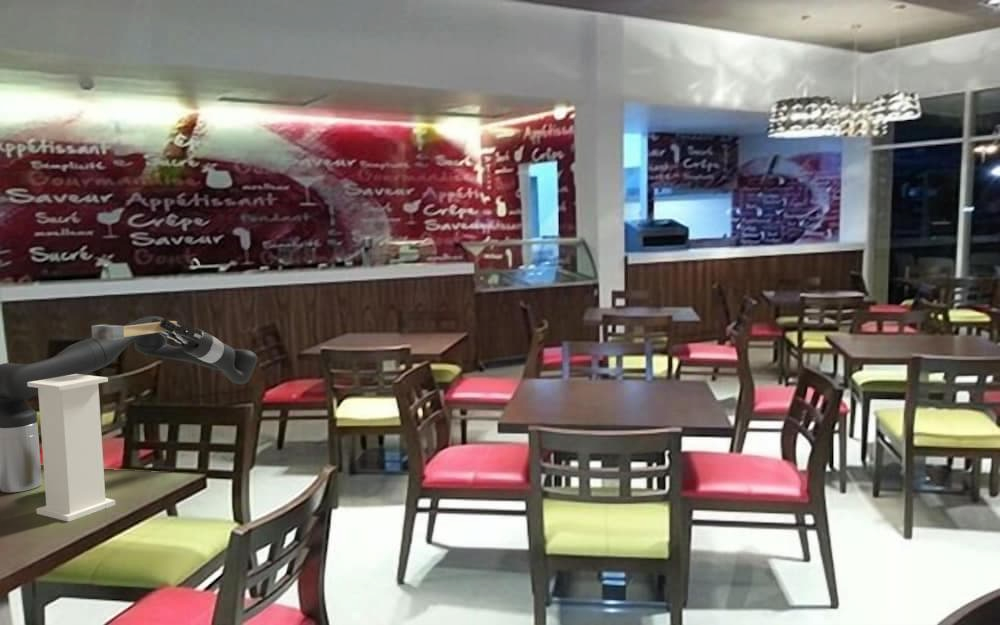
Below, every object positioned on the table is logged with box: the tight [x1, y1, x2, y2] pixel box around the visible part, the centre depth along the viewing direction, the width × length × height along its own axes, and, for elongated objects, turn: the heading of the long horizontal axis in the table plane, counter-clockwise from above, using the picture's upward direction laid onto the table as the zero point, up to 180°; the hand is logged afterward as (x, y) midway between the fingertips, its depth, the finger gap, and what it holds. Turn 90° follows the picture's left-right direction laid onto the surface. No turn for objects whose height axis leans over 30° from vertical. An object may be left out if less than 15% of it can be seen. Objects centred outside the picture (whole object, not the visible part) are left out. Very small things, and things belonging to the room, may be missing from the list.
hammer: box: [91, 320, 178, 340], centre depth 191 cm, size 8×21×3 cm, turn 154°
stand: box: [27, 374, 116, 522], centre depth 175 cm, size 12×12×32 cm
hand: (157, 322), depth 196 cm, fingers closed on hammer, 3 cm apart
